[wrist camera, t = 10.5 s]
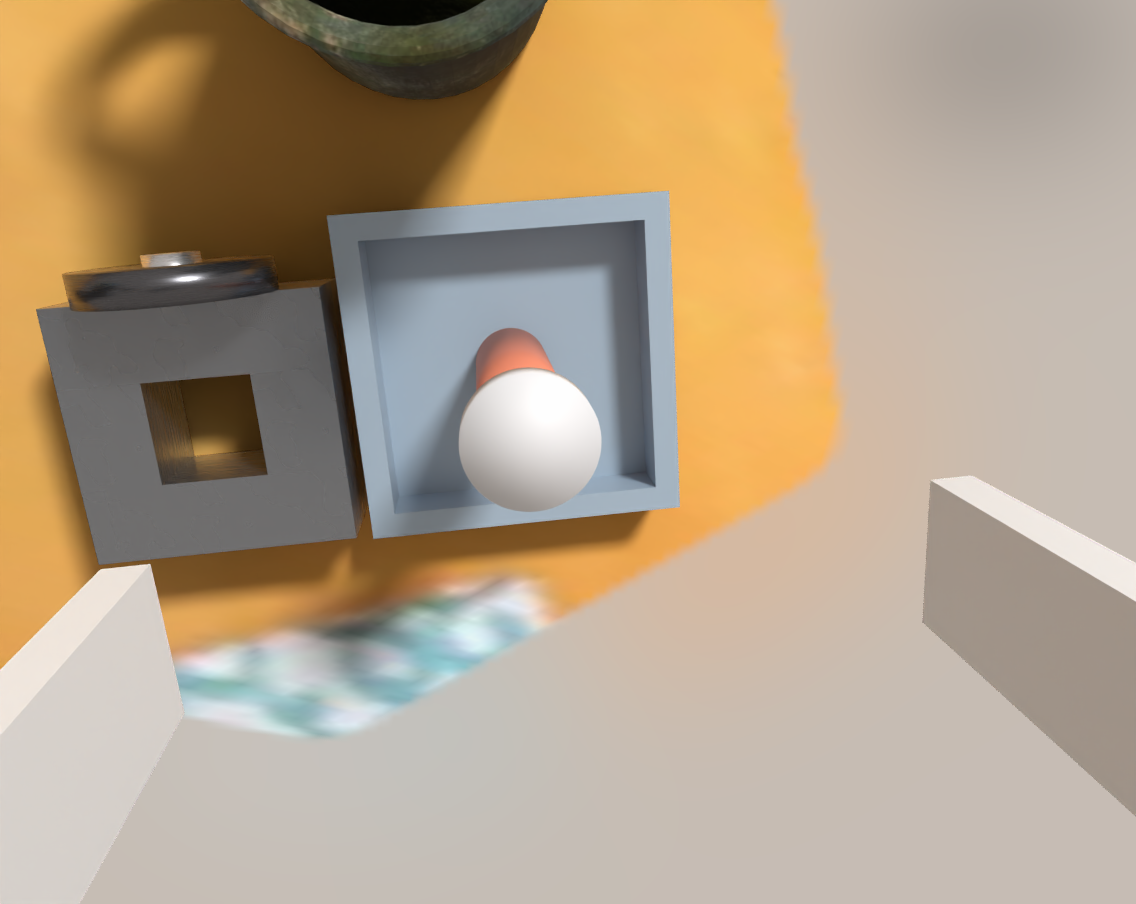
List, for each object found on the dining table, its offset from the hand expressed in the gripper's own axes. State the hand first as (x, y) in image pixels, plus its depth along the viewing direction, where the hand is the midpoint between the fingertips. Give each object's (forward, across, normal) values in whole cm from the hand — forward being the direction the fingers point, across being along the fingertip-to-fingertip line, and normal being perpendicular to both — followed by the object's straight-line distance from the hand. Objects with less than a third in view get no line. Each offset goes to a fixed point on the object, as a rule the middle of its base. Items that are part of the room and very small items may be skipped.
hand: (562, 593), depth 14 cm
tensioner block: (+24, -12, -1) cm, 26 cm away
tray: (+24, 0, 0) cm, 24 cm away
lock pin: (+23, 0, 0) cm, 23 cm away
